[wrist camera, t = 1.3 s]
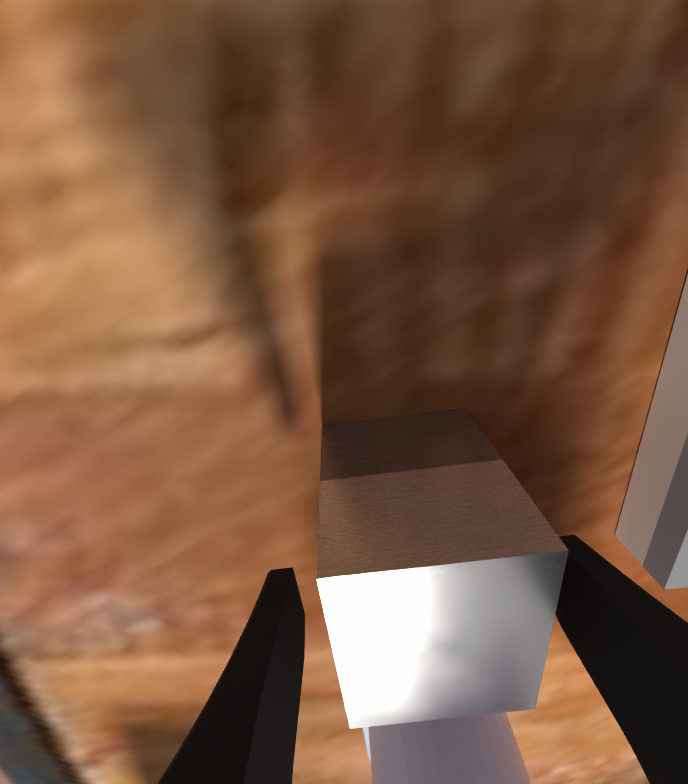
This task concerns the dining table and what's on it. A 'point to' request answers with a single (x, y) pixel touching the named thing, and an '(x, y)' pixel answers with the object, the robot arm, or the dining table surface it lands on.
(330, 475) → the block
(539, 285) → the dining table surface
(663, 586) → the shallow gray rimmed tray
